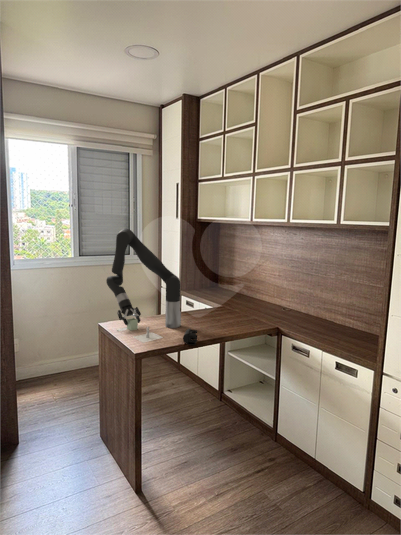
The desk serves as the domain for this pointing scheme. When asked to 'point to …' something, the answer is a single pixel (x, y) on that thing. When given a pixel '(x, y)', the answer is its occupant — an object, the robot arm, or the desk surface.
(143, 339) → the peg stand
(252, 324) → the desk surface
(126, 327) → the mat
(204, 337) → the desk surface
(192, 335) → the end cap
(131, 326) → the sleeve
